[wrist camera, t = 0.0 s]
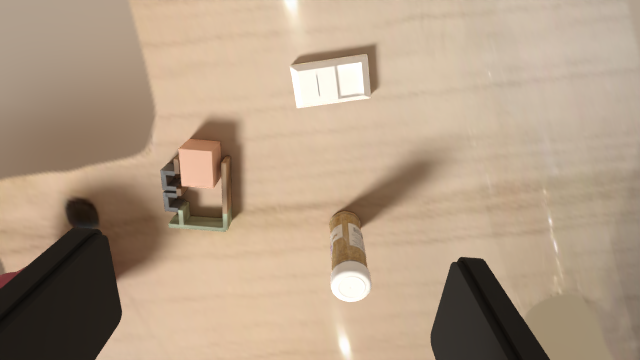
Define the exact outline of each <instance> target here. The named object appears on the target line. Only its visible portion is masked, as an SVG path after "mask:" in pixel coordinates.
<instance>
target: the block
mask: <svg viewBox="0 0 640 360" xmlns="http://www.w3.org/2000/svg"><path fill="white" fill-rule="evenodd" d="M179 160H180V172H181V184H182V186H188V187H201V188H214V187H215V185H216V184H217V182H218V181H219V179H220V178H221V148H220V141H210V140H198V139H189V140H188V141H187V142H185V143H184V144H183V145H182V146H181V147H180V148H179Z"/></svg>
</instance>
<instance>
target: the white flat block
mask: <svg viewBox="0 0 640 360" xmlns="http://www.w3.org/2000/svg"><path fill="white" fill-rule="evenodd" d="M290 70H291V75H292V81H293V87H294V93H295V99H296V105H297V108H302V107H309V106H317V105H324V104H331V103H338V102H345V101H353V100H360V99H367V98H371V91H370V79H369V67H368V55H367V54H361V55H355V56H348V57H341V58H334V59H327V60H321V61H314V62H307V63H300V64H293V65H291V66H290Z"/></svg>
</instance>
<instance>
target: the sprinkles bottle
mask: <svg viewBox="0 0 640 360" xmlns="http://www.w3.org/2000/svg"><path fill="white" fill-rule="evenodd" d="M329 225H330V230H331V236H330V241H331V259H332V273H331V289H332V292H333V293H334V295H335V296H336V297H337V298H339V299H341V300H343V301H348V302H354V301H358V300H361V299H363V298H364V297H366V296H367V295H368V293H369V292H370V290H371V277H370V272H369V270H368V268H367V263H366V254H365V248H364V243H363V237H362V233H361V229H360V226H361V224H360V220H359V218H358V217H357V216H356V215H355V214H354V213H352V212H347V211H342V212H339V213H337V214H335V215H334V216H333V217H332V219H331V221H330V224H329Z"/></svg>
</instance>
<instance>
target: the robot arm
mask: <svg viewBox="0 0 640 360" xmlns="http://www.w3.org/2000/svg"><path fill="white" fill-rule="evenodd" d="M121 316H122V309H121V304H120V298H119V293H118V288H117V283H116V278H115V273H114V268H113V263H112V257H111V252H110V247H109V242H108V238H107V237H106V236H105V235H102V232H101V231H100V230H98V229H89V228H73V229H71V230H70V231H68V232H67V233H66V234H65V235H64V236H63V237H61V238H60V239H59V240H58V241H57V242H55V243H54V244H53V245H52V246H51V247H49V248H48V249H47V250H46V251H45V252H43V253H42V254H41V255H40V256H39V257H37V258H36V259H35V260H34V261H33V262H31V263H30V264H29V265H28V266H27V267H26V268H24V269H23V270H22V271H21V272H20V273H18V274H17V275H16V276H15V277H14V278H12V279H11V280H10V281H9V282H8V283H6V284H5V285H4V286H3V287H2V288H0V360H95V359H96V357H97V356H98V354H99V353H100V351H101V350H102V348H103V347H104V345H105V344H106V342H107V341H108V339H109V338H110V336H111V335H112V333H113V332H114V330H115V329H116V327H117V326H118V324H119V322H120V320H121ZM431 346H432V349H433V353H434V356H435V359H436V360H550V359H549V357H548V356H547V354H546V353H545V352H544V350H543V348H542V347H541V345H540V344H539V342H538V341H537V339H536V338H535V336H534V335H533V333H532V332H531V330H530V329H529V327H528V325H527V324H526V322H525V321H524V319H523V318H522V317H521V315H520V314H519V312H518V311H517V309H516V308H515V306H514V305H513V303H512V302H511V300H510V299H509V297H508V296H507V294H506V293H505V291H504V289H503V288H502V286H501V285H500V283H499V282H498V280H497V279H496V277H495V276H494V274H493V273H492V271H491V270H490V268H489V267H488V265H487V264H486V262H485V261H484V260H483V259H481V258H468V257H460V258H459V259H458V261H457V262H452V264H451V266H450V269H449V273H448V276H447V280H446V283H445V286H444V290H443V293H442V297H441V300H440V304H439V307H438V310H437V314H436V317H435V321H434V324H433V328H432V331H431Z"/></svg>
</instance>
